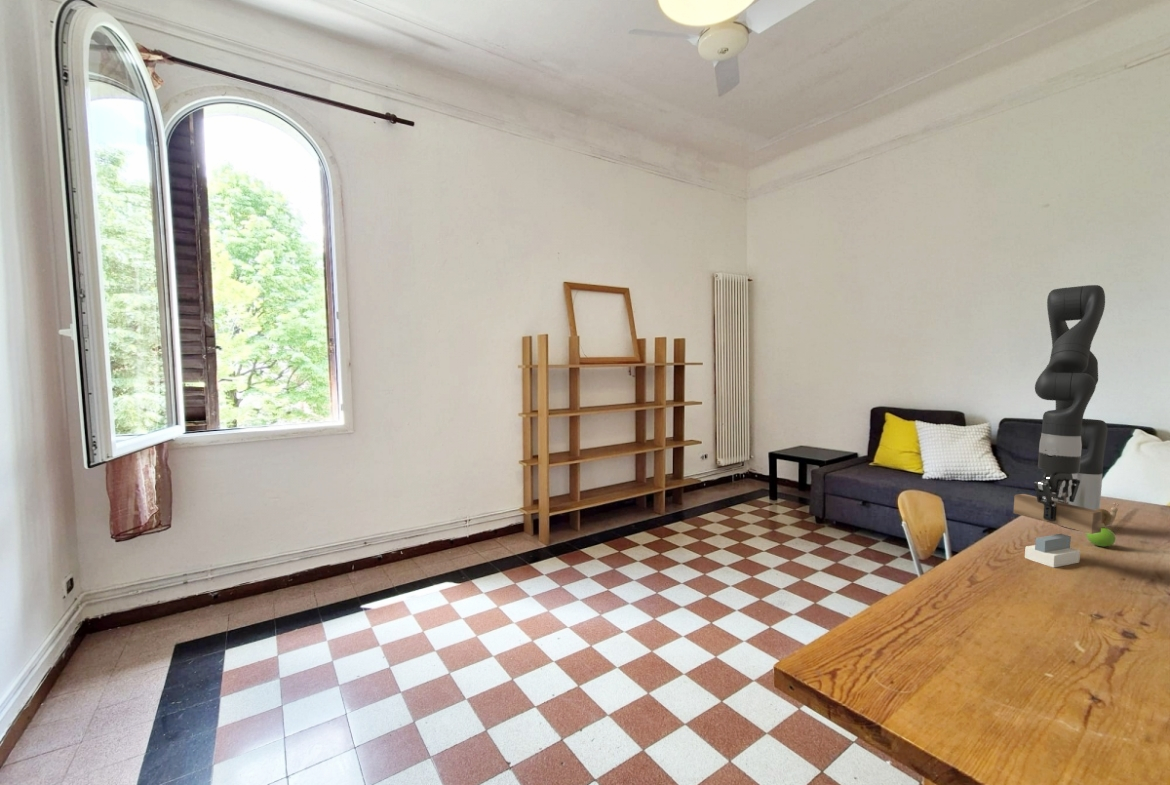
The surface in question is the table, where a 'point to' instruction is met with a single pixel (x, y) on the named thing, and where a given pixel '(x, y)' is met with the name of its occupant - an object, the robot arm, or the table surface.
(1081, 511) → the walnut bar
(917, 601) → the table surface
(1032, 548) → the white grey stepped block
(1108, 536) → the snail figurine
